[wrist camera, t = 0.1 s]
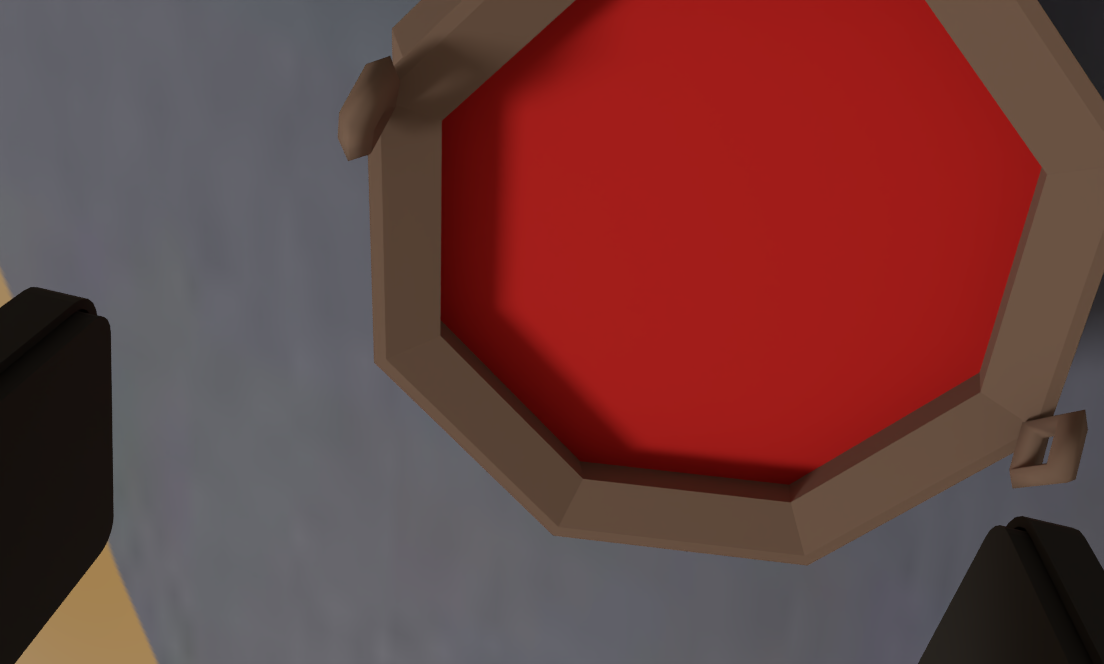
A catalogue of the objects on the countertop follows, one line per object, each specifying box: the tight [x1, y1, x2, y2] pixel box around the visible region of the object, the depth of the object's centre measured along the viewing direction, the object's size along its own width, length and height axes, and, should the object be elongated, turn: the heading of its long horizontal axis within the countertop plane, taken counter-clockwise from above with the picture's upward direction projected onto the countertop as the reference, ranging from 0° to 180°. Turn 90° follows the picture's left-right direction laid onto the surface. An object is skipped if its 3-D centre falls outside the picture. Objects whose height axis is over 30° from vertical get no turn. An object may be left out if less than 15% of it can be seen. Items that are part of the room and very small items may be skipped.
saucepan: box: [338, 0, 1104, 565], centre depth 33 cm, size 24×24×16 cm
